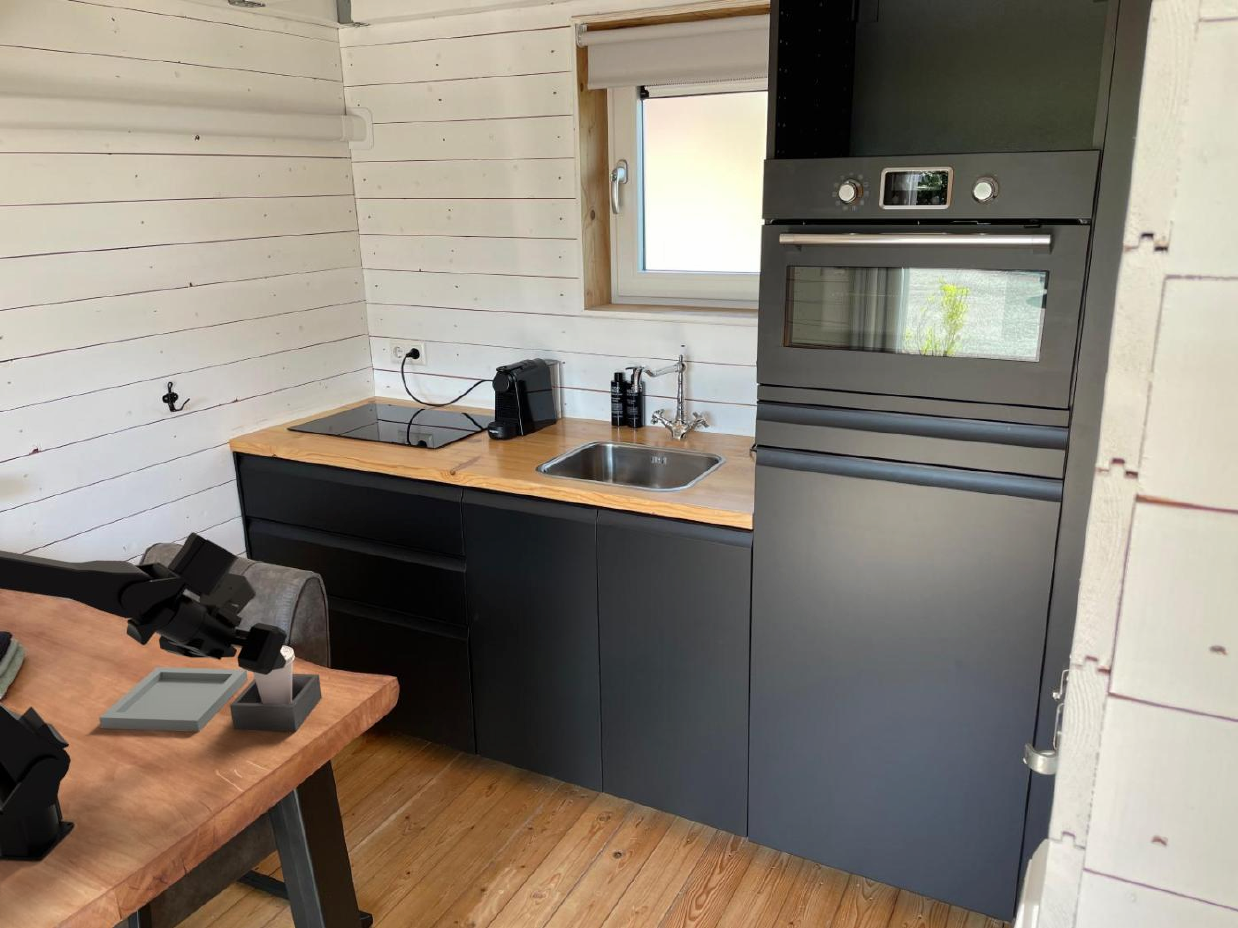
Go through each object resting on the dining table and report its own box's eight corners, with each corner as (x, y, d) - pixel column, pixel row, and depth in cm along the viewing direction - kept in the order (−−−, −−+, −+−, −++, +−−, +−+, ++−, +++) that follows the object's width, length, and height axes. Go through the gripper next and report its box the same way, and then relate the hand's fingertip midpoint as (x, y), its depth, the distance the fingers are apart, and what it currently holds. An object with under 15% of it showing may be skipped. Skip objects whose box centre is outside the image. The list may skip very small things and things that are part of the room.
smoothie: (286, 726, 135) (275, 639, 131) (247, 722, 136) (234, 636, 132) (309, 703, 141) (298, 619, 137) (271, 700, 142) (259, 616, 138)
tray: (199, 731, 134) (197, 720, 134) (101, 728, 136) (98, 717, 135) (247, 679, 149) (246, 669, 148) (158, 677, 150) (157, 667, 150)
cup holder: (296, 731, 134) (292, 706, 133) (233, 729, 135) (229, 705, 134) (321, 697, 143) (318, 674, 142) (263, 695, 144) (259, 672, 143)
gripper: (267, 574, 121) (333, 616, 134) (162, 555, 128) (234, 597, 141) (229, 655, 116) (301, 691, 129) (123, 632, 123) (201, 668, 136)
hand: (259, 658), depth 134 cm, fingers open, 9 cm apart
